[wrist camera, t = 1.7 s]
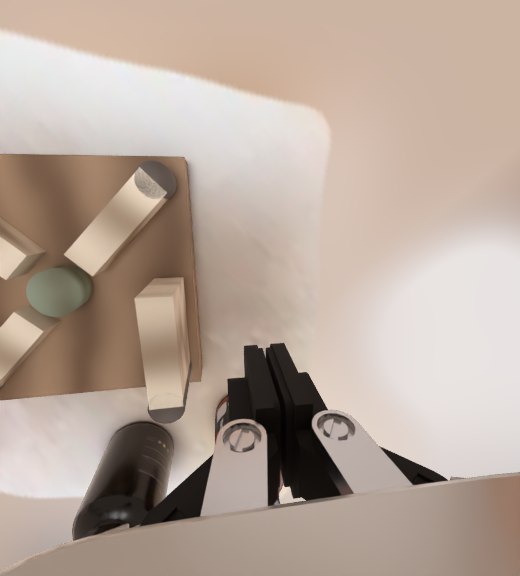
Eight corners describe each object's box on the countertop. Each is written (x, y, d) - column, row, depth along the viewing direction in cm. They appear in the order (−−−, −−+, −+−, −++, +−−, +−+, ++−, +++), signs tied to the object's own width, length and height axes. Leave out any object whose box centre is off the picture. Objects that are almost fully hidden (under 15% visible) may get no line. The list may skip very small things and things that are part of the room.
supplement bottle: (138, 481, 32) (94, 632, 20) (95, 444, 30) (19, 588, 18) (187, 448, 32) (171, 580, 20) (147, 408, 30) (104, 530, 18)
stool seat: (-12, 386, 27) (-61, 423, 22) (-79, 159, 22) (-161, 143, 17) (202, 367, 29) (199, 396, 25) (187, 162, 24) (180, 150, 20)
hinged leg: (192, 376, 27) (186, 421, 21) (164, 379, 26) (149, 425, 20) (184, 276, 24) (174, 296, 18) (153, 278, 24) (132, 298, 18)
